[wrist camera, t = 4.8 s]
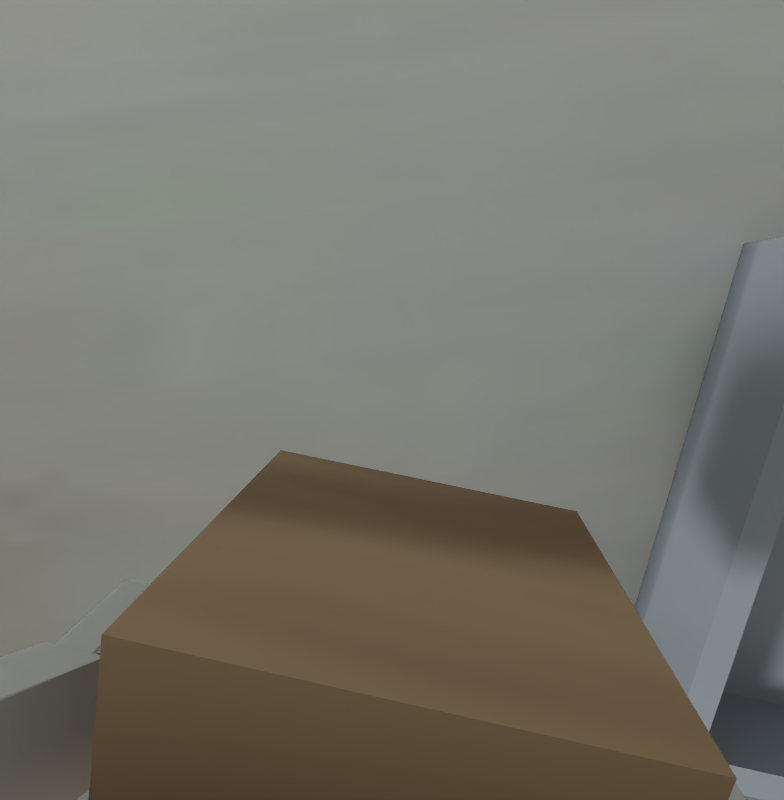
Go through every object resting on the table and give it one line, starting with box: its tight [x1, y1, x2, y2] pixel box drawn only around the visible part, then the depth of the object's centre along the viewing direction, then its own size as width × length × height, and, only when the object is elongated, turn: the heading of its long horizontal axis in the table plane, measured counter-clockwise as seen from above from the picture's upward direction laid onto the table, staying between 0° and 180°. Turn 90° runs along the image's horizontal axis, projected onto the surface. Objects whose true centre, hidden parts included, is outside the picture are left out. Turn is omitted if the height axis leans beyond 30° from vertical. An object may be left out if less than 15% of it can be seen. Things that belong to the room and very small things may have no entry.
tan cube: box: [89, 450, 737, 800], centre depth 7 cm, size 5×5×5 cm
